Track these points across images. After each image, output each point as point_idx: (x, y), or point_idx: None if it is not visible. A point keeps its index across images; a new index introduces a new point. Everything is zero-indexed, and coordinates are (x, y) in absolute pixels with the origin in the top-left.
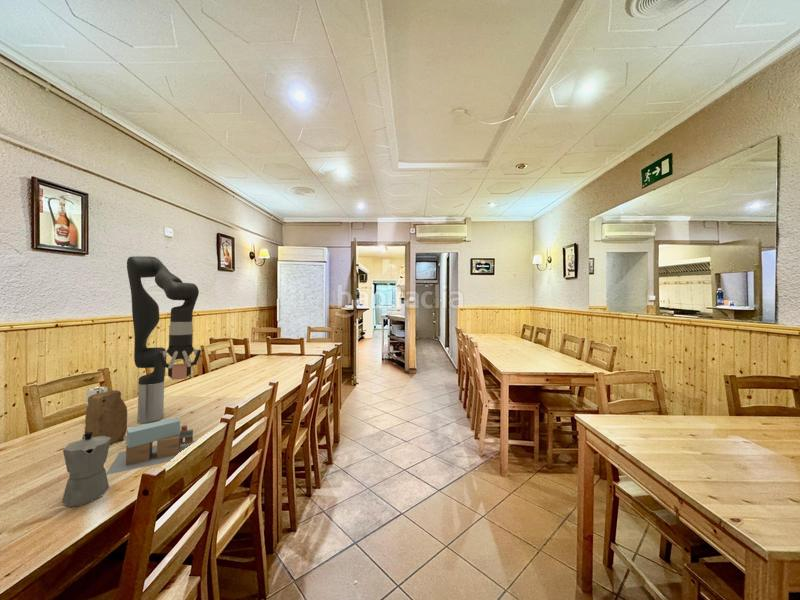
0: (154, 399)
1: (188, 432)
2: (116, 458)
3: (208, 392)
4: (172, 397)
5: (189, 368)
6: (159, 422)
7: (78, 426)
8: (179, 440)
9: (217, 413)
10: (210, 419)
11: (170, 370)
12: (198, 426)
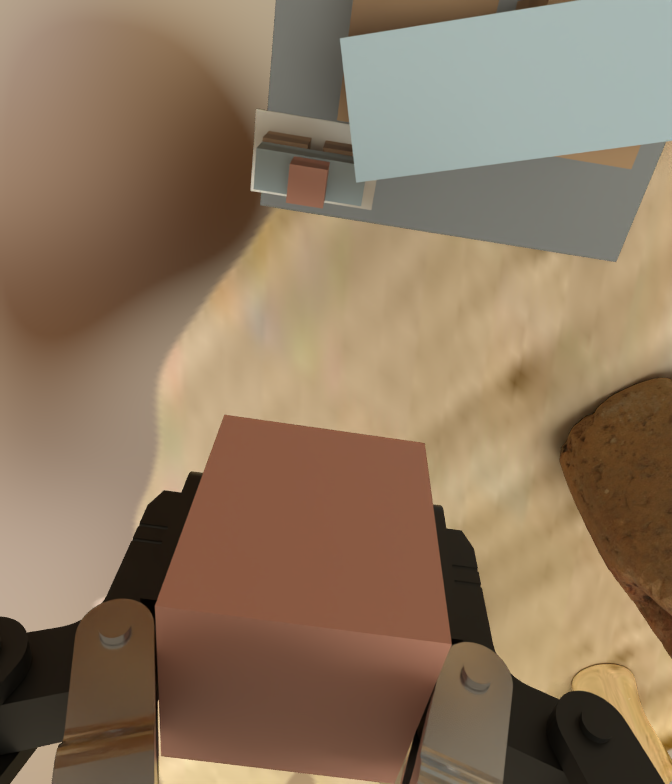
0: None
1: (284, 152)
2: (645, 178)
3: (183, 767)
4: (323, 778)
5: (138, 587)
6: (494, 122)
7: (660, 670)
8: None
9: (138, 519)
10: (171, 459)
11: (457, 607)
12: (231, 399)
